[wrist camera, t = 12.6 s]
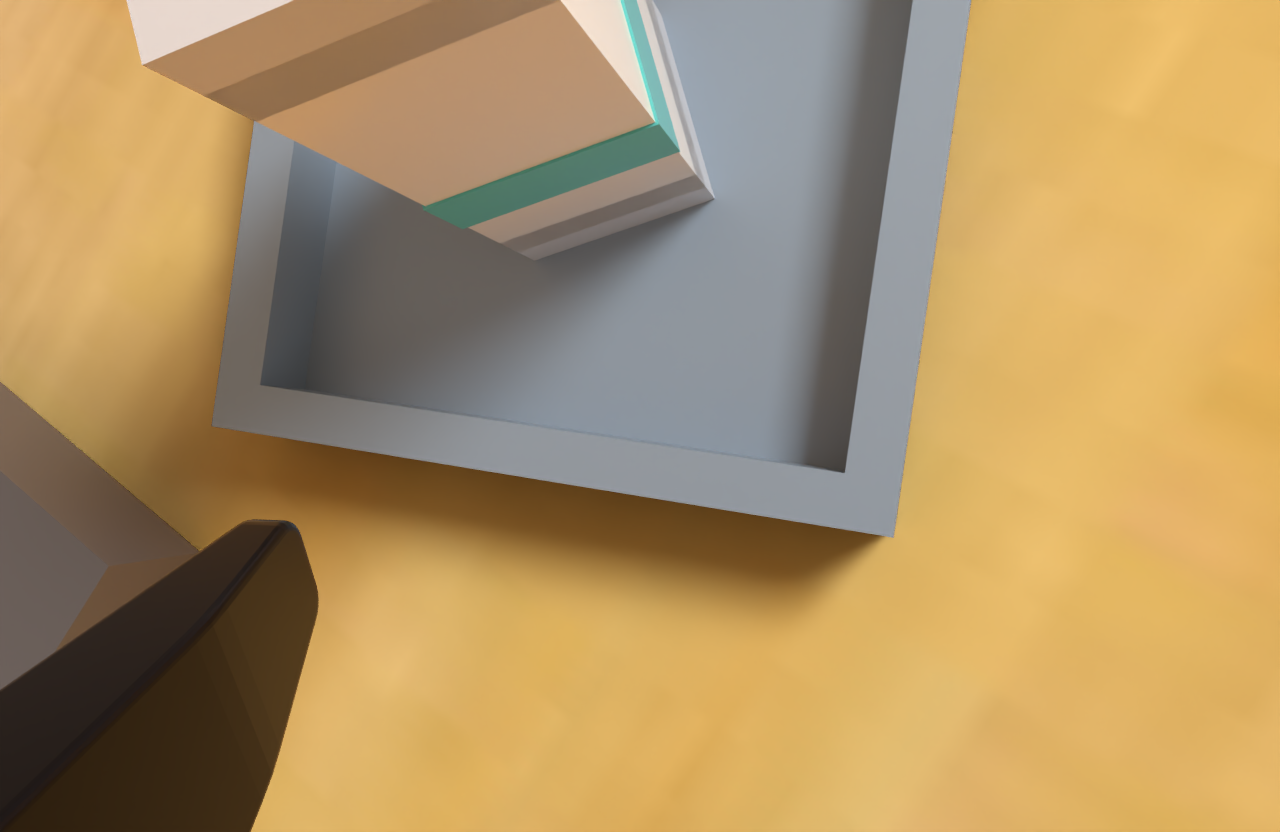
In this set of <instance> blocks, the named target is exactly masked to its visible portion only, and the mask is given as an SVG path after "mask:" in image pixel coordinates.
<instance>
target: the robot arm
mask: <svg viewBox="0 0 1280 832" xmlns="http://www.w3.org/2000/svg"><path fill="white" fill-rule="evenodd" d="M317 612H318V590H317V586H316V582H315V579H314V576H313V573H312V569H311V566H310V563H309V560H308V556H307V553H306V550H305V547H304V543H303V540H302V537H301V534H300V532H299V530H298V528H297V527H296V526H295V525H294V524H293V523H291V522H288V521H281V520H255V519H254V520H247V521H244V522H242V523H241V524H239V525H237V526H236V527H234V528H233V529H231V530H230V531H228V532H227V533H226V534H224V535H223V536H221V537H220V538H218V539H217V540H215V541H214V542H213V543H211V544H210V545H208V546H207V547H205V548H204V549H202V550H201V551H200V552H198V553H197V554H195V555H194V556H192V557H191V558H190V559H188V560H187V561H185V562H184V563H182V564H181V565H179V566H178V567H177V568H175V569H174V570H172V571H171V572H169V573H168V574H166V575H165V576H164V577H162V578H161V579H159V580H158V581H156V582H155V583H153V584H152V585H151V586H149V587H148V588H146V589H145V590H143V591H142V592H140V593H139V594H138V595H136V596H135V597H133V598H132V599H130V600H129V601H127V602H126V603H125V604H123V605H122V606H120V607H119V608H117V609H116V610H114V611H113V612H112V613H110V614H109V615H107V616H106V617H104V618H103V619H101V620H100V621H99V622H97V623H96V624H94V625H93V626H91V627H90V628H88V629H87V630H86V631H84V632H83V633H81V634H80V635H78V636H77V637H75V638H74V639H73V640H71V641H70V642H68V643H67V644H65V645H64V646H62V647H61V648H60V649H58V650H57V651H55V652H54V653H52V654H51V655H49V656H48V657H47V658H45V659H44V660H42V661H41V662H39V663H38V664H36V665H35V666H34V667H32V668H31V669H29V670H28V671H26V672H25V673H23V674H22V675H21V676H19V677H18V678H16V679H15V680H13V681H12V682H10V683H9V684H8V685H6V686H5V687H3V688H2V689H0V832H251V829H252V827H253V824H254V822H255V819H256V817H257V814H258V812H259V809H260V807H261V804H262V802H263V799H264V796H265V793H266V791H267V788H268V785H269V783H270V780H271V777H272V775H273V771H274V768H275V765H276V762H277V758H278V755H279V752H280V748H281V745H282V741H283V738H284V734H285V730H286V727H287V723H288V719H289V716H290V712H291V708H292V705H293V701H294V698H295V694H296V690H297V687H298V683H299V679H300V676H301V672H302V668H303V665H304V661H305V658H306V654H307V650H308V647H309V643H310V639H311V636H312V632H313V629H314V625H315V621H316V617H317Z"/></svg>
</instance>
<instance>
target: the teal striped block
mask: <svg viewBox="0 0 1280 832" xmlns="http://www.w3.org/2000/svg"><path fill="white" fill-rule="evenodd" d="M127 4H128V8H129V12H130V16H131V20H132V25H133V29H134V33H135V37H136V41H137V45H138V50H139V54H140V58H141V62H142V65H143V66H145V67H147V68H149V69H151V70H153V71H155V72H157V73H159V74H161V75H163V76H165V77H167V78H169V79H171V80H173V81H175V82H177V83H179V84H181V85H183V86H185V87H187V88H189V89H191V90H193V91H195V92H197V93H199V94H201V95H203V96H205V97H207V98H209V99H211V100H213V101H215V102H217V103H219V104H221V105H223V106H225V107H227V108H229V109H231V110H233V111H235V112H238V113H240V114H242V115H244V116H246V117H248V118H250V119H252V120H254V121H256V122H258V123H260V124H262V125H264V126H266V127H268V128H270V129H272V130H274V131H276V132H278V133H280V134H282V135H284V136H286V137H288V138H290V139H292V140H294V141H296V142H298V143H300V144H302V145H304V146H306V147H308V148H310V149H312V150H314V151H316V152H318V153H320V154H322V155H324V156H326V157H328V158H330V159H332V160H334V161H336V162H338V163H340V164H342V165H344V166H346V167H348V168H350V169H352V170H354V171H356V172H358V173H360V174H362V175H364V176H366V177H368V178H370V179H372V180H374V181H376V182H378V183H380V184H382V185H384V186H386V187H388V188H390V189H392V190H394V191H396V192H398V193H400V194H402V195H404V196H406V197H408V198H410V199H412V200H414V201H416V202H418V203H420V204H422V207H423V210H424V211H426V212H428V213H430V214H432V215H434V216H436V217H439V218H441V219H443V220H445V221H447V222H449V223H451V224H453V225H455V226H457V227H459V228H461V229H465V228H470V229H472V230H474V231H476V232H478V233H480V234H482V235H484V236H486V237H488V238H490V239H492V240H494V241H496V242H498V243H500V244H502V245H504V246H506V247H508V248H510V249H512V250H514V251H516V252H518V253H520V254H522V255H524V256H526V257H528V258H530V259H532V260H534V261H535V260H538V259H541V258H544V257H547V256H550V255H552V254H555V253H558V252H561V251H564V250H567V249H570V248H573V247H576V246H579V245H582V244H584V243H587V242H590V241H593V240H596V239H599V238H602V237H605V236H608V235H611V234H614V233H616V232H619V231H622V230H625V229H628V228H631V227H634V226H637V225H640V224H643V223H646V222H648V221H651V220H654V219H657V218H660V217H663V216H666V215H669V214H672V213H675V212H678V211H680V210H683V209H686V208H689V207H692V206H695V205H698V204H701V203H704V202H707V201H710V200H712V199H715V198H714V194H713V191H712V187H711V184H710V181H709V177H708V174H707V170H706V167H705V163H704V160H703V156H702V153H701V150H700V146H699V143H698V139H697V136H696V132H695V129H694V125H693V122H692V119H691V115H690V112H689V108H688V105H687V101H686V98H685V94H684V91H683V88H682V84H681V81H680V77H679V74H678V70H677V67H676V63H675V60H674V57H673V53H672V50H671V46H670V43H669V39H668V36H667V32H666V29H665V26H664V22H663V19H662V15H661V14H660V12H659V10H658V8H657V7H656V5H655V3H654V1H653V0H127Z"/></svg>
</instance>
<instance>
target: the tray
mask: <svg viewBox="0 0 1280 832" xmlns="http://www.w3.org/2000/svg"><path fill="white" fill-rule="evenodd" d="M653 1H654V3H655V5H656V7H657V8H658V10H659V12H660V14H661V15H662V19H663V22H664V26H665V29H666V32H667V36H668V39H669V43H670V46H671V50H672V53H673V57H674V60H675V63H676V67H677V70H678V74H679V77H680V81H681V84H682V88H683V91H684V94H685V98H686V101H687V105H688V108H689V112H690V115H691V119H692V122H693V125H694V129H695V132H696V136H697V139H698V143H699V146H700V150H701V153H702V156H703V160H704V163H705V167H706V170H707V174H708V177H709V181H710V184H711V187H712V191H713V194H714V198H715V199H712V200H710V201H707V202H704V203H701V204H698V205H695V206H692V207H689V208H686V209H683V210H680V211H678V212H675V213H672V214H669V215H666V216H663V217H660V218H657V219H654V220H651V221H648V222H646V223H643V224H640V225H637V226H634V227H631V228H628V229H625V230H622V231H619V232H616V233H614V234H611V235H608V236H605V237H602V238H599V239H596V240H593V241H590V242H587V243H584V244H582V245H579V246H576V247H573V248H570V249H567V250H564V251H561V252H558V253H555V254H552V255H550V256H547V257H544V258H541V259H538V260H535V261H534V260H532V259H530V258H528V257H526V256H524V255H522V254H520V253H518V252H516V251H514V250H512V249H510V248H508V247H506V246H504V245H502V244H500V243H498V242H496V241H494V240H492V239H490V238H488V237H486V236H484V235H482V234H480V233H478V232H476V231H474V230H472V229H470V228H465V229H461V228H459V227H457V226H455V225H453V224H451V223H449V222H447V221H445V220H443V219H441V218H439V217H436V216H434V215H432V214H430V213H428V212H426V211H424V210H423V207H422V204H420V203H418V202H416V201H414V200H412V199H410V198H408V197H406V196H404V195H402V194H400V193H398V192H396V191H394V190H392V189H390V188H388V187H386V186H384V185H382V184H380V183H378V182H376V181H374V180H372V179H370V178H368V177H366V176H364V175H362V174H360V173H358V172H356V171H354V170H352V169H350V168H348V167H346V166H344V165H342V164H340V163H338V162H336V161H334V160H332V159H330V158H328V157H326V156H324V155H322V154H320V153H318V152H316V151H314V150H312V149H310V148H308V147H306V146H304V145H302V144H300V143H298V142H296V141H294V140H292V139H290V138H288V137H286V136H284V135H282V134H280V133H278V132H276V131H274V130H272V129H270V128H268V127H266V126H264V125H262V124H260V123H258V122H256V121H254V126H253V133H252V141H251V148H250V155H249V162H248V169H247V176H246V183H245V191H244V198H243V205H242V212H241V219H240V226H239V233H238V241H237V248H236V255H235V262H234V269H233V276H232V283H231V291H230V298H229V305H228V312H227V319H226V326H225V333H224V341H223V348H222V355H221V362H220V369H219V376H218V383H217V391H216V398H215V405H214V412H213V419H212V426H213V427H219V428H225V429H231V430H238V431H244V432H250V433H256V434H262V435H268V436H274V437H281V438H287V439H293V440H299V441H305V442H311V443H317V444H323V445H330V446H336V447H342V448H348V449H354V450H360V451H366V452H372V453H379V454H385V455H391V456H397V457H403V458H409V459H415V460H421V461H428V462H434V463H440V464H446V465H452V466H458V467H464V468H470V469H477V470H483V471H489V472H495V473H501V474H507V475H513V476H520V477H526V478H532V479H538V480H544V481H550V482H556V483H562V484H569V485H575V486H581V487H587V488H593V489H599V490H605V491H611V492H618V493H624V494H630V495H636V496H642V497H648V498H654V499H660V500H667V501H673V502H679V503H685V504H691V505H697V506H703V507H710V508H716V509H722V510H728V511H734V512H740V513H746V514H752V515H759V516H765V517H771V518H777V519H783V520H789V521H795V522H801V523H808V524H814V525H820V526H826V527H832V528H838V529H844V530H850V531H857V532H863V533H869V534H875V535H881V536H887V537H894V531H895V524H896V518H897V511H898V504H899V497H900V490H901V483H902V476H903V469H904V462H905V455H906V448H907V441H908V434H909V428H910V421H911V414H912V407H913V400H914V393H915V386H916V379H917V372H918V365H919V358H920V351H921V344H922V338H923V331H924V324H925V317H926V310H927V303H928V296H929V289H930V282H931V275H932V268H933V261H934V254H935V247H936V241H937V234H938V227H939V220H940V213H941V206H942V199H943V192H944V185H945V178H946V171H947V164H948V157H949V151H950V144H951V137H952V130H953V123H954V116H955V109H956V102H957V95H958V88H959V81H960V74H961V67H962V61H963V54H964V47H965V40H966V33H967V26H968V19H969V12H970V5H971V0H653Z"/></svg>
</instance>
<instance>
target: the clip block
mask: <svg viewBox="0 0 1280 832" xmlns="http://www.w3.org/2000/svg"><path fill="white" fill-rule="evenodd" d="M198 552H199V551H198V550H197V549H196V548H195V547H194V546H192V545H191V544H190V543H189V542H188V541H186V540H185V539H184V538H183V537H182V536H181V535H179V534H178V533H177V532H176V531H175V530H174V529H172V528H171V527H170V526H169V525H168V524H167V523H165V522H164V521H163V520H162V519H161V518H159V517H158V516H157V515H156V514H155V513H154V512H152V511H151V510H150V509H149V508H148V507H147V506H145V505H144V504H143V503H142V502H141V501H139V500H138V499H137V498H136V497H135V496H134V495H132V494H131V493H130V492H129V491H128V490H127V489H125V488H124V487H123V486H122V485H121V484H120V483H118V482H117V481H116V480H115V479H114V478H112V477H111V476H110V475H109V474H108V473H107V472H105V471H104V470H103V469H102V468H101V467H100V466H98V465H97V464H96V463H95V462H94V461H92V460H91V459H90V458H89V457H88V456H87V455H85V454H84V453H83V452H82V451H81V450H80V449H78V448H77V447H76V446H75V445H74V444H73V443H71V442H70V441H69V440H68V439H67V438H65V437H64V436H63V435H62V434H61V433H60V432H58V431H57V430H56V429H55V428H54V427H53V426H51V425H50V424H49V423H48V422H47V421H45V420H44V419H43V418H42V417H41V416H40V415H38V414H37V413H36V412H35V411H34V410H33V409H31V408H30V407H29V406H28V405H27V404H26V403H24V402H23V401H22V400H21V399H20V398H18V397H17V396H16V395H15V394H14V393H13V392H11V391H10V390H9V389H8V388H7V387H6V386H4V385H3V384H2V383H1V382H0V689H2V688H3V687H5V686H6V685H8V684H9V683H10V682H12V681H13V680H15V679H16V678H18V677H19V676H21V675H22V674H23V673H25V672H26V671H28V670H29V669H31V668H32V667H34V666H35V665H36V664H38V663H39V662H41V661H42V660H44V659H45V658H47V657H48V656H49V655H51V654H52V653H54V652H55V651H57V650H58V649H60V648H61V647H62V646H64V645H65V644H67V643H68V642H70V641H71V640H73V639H74V638H75V637H77V636H78V635H80V634H81V633H83V632H84V631H86V630H87V629H88V628H90V627H91V626H93V625H94V624H96V623H97V622H99V621H100V620H101V619H103V618H104V617H106V616H107V615H109V614H110V613H112V612H113V611H114V610H116V609H117V608H119V607H120V606H122V605H123V604H125V603H126V602H127V601H129V600H130V599H132V598H133V597H135V596H136V595H138V594H139V593H140V592H142V591H143V590H145V589H146V588H148V587H149V586H151V585H152V584H153V583H155V582H156V581H158V580H159V579H161V578H162V577H164V576H165V575H166V574H168V573H169V572H171V571H172V570H174V569H175V568H177V567H178V566H179V565H181V564H182V563H184V562H185V561H187V560H188V559H190V558H191V557H192V556H194V555H195V554H197V553H198Z"/></svg>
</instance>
